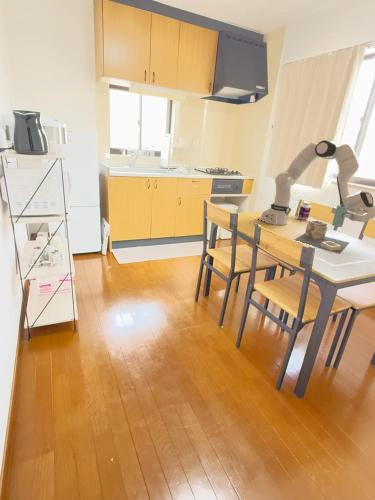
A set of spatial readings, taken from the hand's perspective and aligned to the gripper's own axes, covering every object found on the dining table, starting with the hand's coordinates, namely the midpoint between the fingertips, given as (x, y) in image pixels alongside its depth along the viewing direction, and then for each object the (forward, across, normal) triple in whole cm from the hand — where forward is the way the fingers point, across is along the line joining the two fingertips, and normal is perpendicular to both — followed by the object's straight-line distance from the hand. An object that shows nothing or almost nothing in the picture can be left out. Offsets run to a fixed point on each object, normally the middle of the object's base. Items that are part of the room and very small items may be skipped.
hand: (339, 214), depth 161 cm
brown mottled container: (-8, -20, +21) cm, 30 cm away
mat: (-4, -10, +22) cm, 24 cm away
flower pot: (-24, -70, +22) cm, 77 cm away
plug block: (-1, 0, +7) cm, 7 cm away
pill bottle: (-35, -59, +22) cm, 72 cm away
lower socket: (-1, 0, +22) cm, 22 cm away
